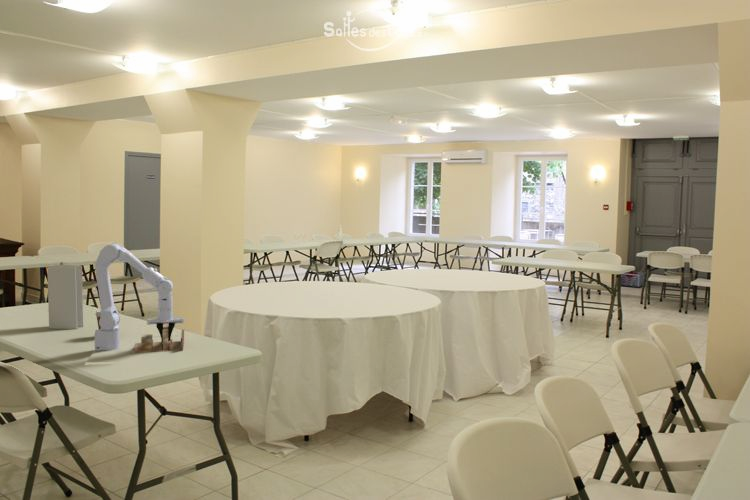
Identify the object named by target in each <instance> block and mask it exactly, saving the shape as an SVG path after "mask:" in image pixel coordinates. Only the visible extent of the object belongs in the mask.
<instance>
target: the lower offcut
mask: <svg viewBox="0 0 750 500" xmlns="http://www.w3.org/2000/svg"><path fill="white" fill-rule="evenodd" d="M153 342H154V339H153V340H152V343H141V342H140V343H141V350H142V349H152V346H153Z"/></svg>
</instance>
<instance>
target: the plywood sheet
mask: <svg viewBox="0 0 750 500" xmlns="http://www.w3.org/2000/svg"><path fill="white" fill-rule="evenodd" d="M168 325H169V324H166V325H165V324H163V349H168V347H169V342H170V341H168V336H169V328H168Z"/></svg>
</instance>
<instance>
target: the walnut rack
mask: <svg viewBox="0 0 750 500" xmlns="http://www.w3.org/2000/svg"><path fill="white" fill-rule="evenodd" d="M184 345H185V329H181V334H180V340H179V341H178V340H177V341H176V340H175V341H174V340H173V338H170V341H169V347H168V349H163V341H162V339H161V341H156V342H155V341H153V346H152V349H142V350H141V342H135V343H134V345H133V347H132V350H130V351H131V352H130V354H142V353H145V354H146V353H162V352H163V353H165V352H183V351H184V347H185V346H184Z"/></svg>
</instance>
